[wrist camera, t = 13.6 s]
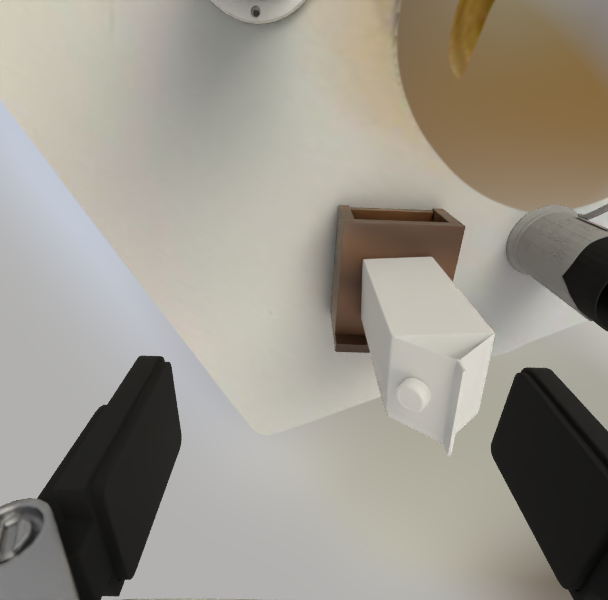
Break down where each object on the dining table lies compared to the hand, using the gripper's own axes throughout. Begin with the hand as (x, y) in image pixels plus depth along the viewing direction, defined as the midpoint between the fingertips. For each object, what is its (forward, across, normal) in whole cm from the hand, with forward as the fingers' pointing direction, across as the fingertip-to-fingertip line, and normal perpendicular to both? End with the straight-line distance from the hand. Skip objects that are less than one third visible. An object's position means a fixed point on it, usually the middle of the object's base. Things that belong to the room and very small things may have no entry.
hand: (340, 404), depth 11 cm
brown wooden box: (+36, -9, +10) cm, 39 cm away
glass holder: (+36, -29, +4) cm, 47 cm away
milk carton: (+30, -9, +10) cm, 32 cm away
